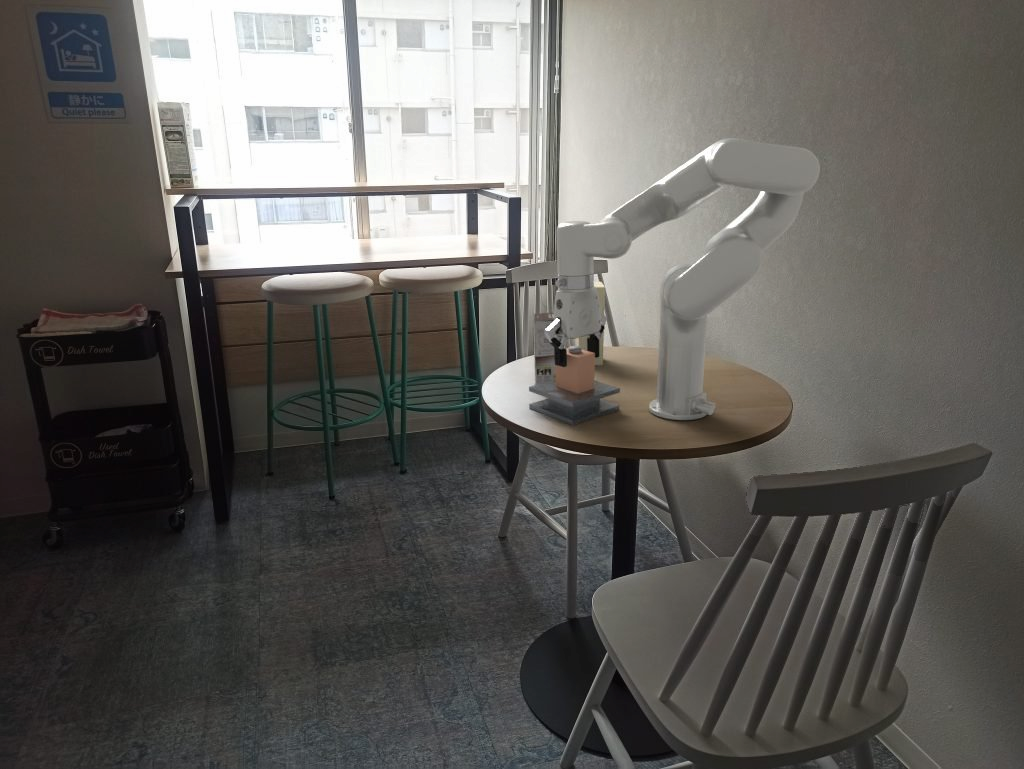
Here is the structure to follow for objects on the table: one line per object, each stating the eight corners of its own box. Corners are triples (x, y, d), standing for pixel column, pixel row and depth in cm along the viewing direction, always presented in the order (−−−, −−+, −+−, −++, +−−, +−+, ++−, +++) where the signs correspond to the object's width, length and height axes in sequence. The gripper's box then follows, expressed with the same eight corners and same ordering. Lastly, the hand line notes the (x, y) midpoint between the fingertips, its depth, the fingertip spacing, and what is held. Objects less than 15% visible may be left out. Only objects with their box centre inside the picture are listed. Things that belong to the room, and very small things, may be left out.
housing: (594, 388, 157) (594, 348, 154) (577, 393, 154) (578, 352, 151) (571, 381, 162) (572, 342, 159) (555, 386, 159) (555, 346, 156)
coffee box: (561, 385, 176) (561, 320, 171) (534, 385, 176) (534, 320, 171) (559, 373, 184) (559, 311, 179) (534, 374, 185) (533, 312, 180)
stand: (619, 409, 158) (619, 388, 157) (572, 425, 150) (573, 402, 149) (575, 394, 169) (575, 374, 167) (529, 408, 160) (529, 386, 159)
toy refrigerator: (606, 365, 191) (607, 286, 184) (578, 366, 191) (579, 287, 184) (602, 357, 198) (603, 281, 192) (575, 357, 198) (575, 281, 192)
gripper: (557, 290, 143) (559, 373, 148) (617, 278, 153) (617, 355, 158) (532, 286, 148) (535, 366, 154) (592, 274, 159) (593, 349, 164)
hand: (577, 360), depth 156 cm, fingers open, 9 cm apart
